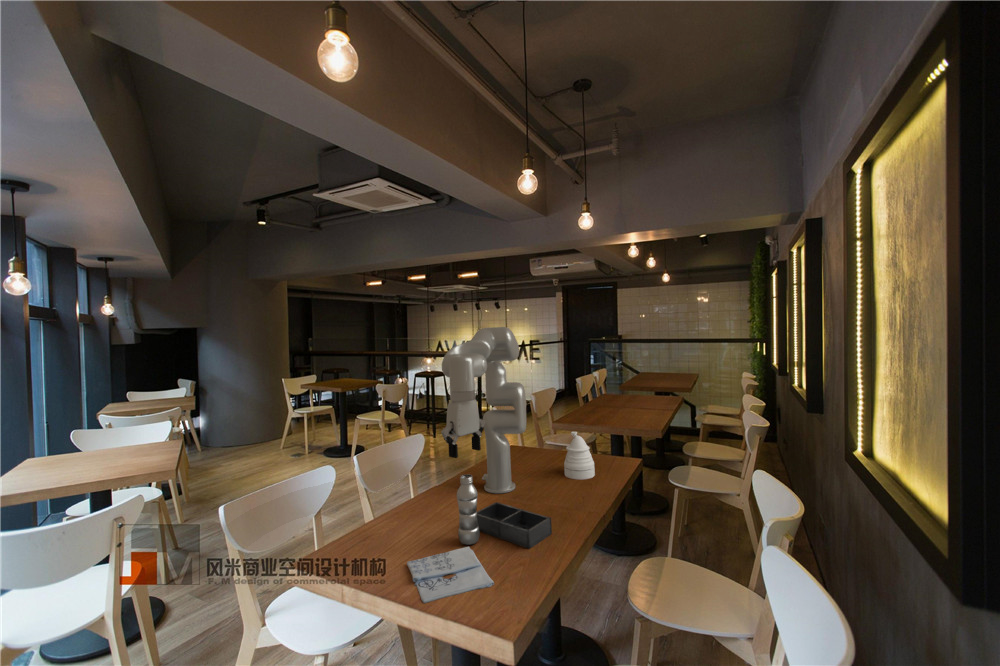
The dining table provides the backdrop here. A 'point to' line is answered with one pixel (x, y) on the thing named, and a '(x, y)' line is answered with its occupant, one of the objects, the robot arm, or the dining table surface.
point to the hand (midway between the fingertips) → (465, 453)
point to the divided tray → (514, 524)
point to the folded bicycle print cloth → (452, 562)
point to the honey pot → (578, 459)
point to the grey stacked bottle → (467, 511)
